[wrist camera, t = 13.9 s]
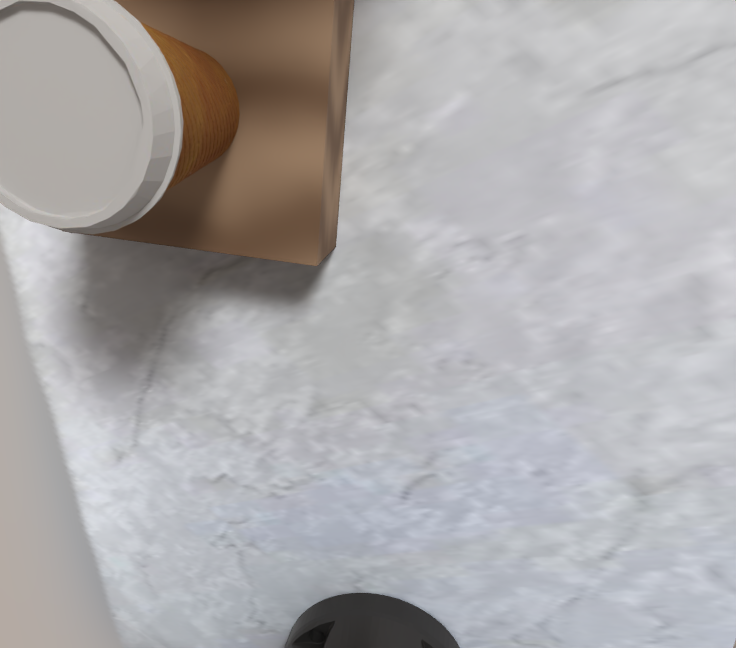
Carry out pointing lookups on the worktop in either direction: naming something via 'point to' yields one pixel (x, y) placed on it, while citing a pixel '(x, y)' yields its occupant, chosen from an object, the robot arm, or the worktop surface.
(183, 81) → the disposable coffee cup
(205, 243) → the walnut base
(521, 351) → the worktop surface
